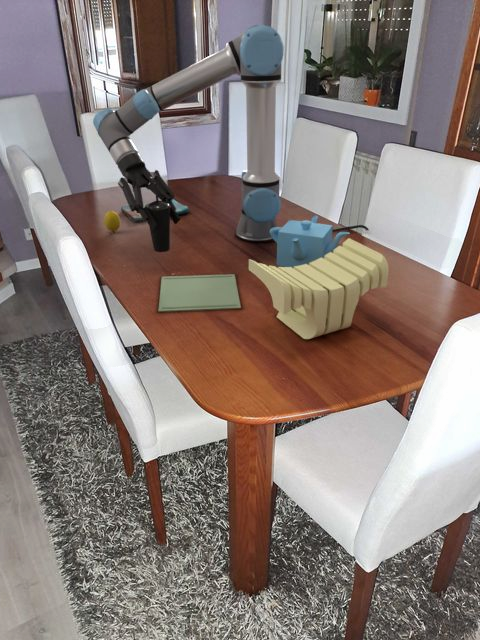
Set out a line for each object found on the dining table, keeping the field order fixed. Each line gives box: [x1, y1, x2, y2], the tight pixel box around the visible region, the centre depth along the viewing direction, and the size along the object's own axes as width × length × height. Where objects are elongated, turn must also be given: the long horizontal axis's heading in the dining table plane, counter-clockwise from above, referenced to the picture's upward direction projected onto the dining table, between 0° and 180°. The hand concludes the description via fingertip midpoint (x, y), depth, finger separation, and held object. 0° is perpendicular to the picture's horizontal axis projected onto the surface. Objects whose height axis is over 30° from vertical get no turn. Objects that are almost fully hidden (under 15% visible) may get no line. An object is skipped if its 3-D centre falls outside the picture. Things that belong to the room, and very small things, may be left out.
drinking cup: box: [145, 183, 171, 253], centre depth 156 cm, size 8×8×20 cm
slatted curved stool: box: [248, 237, 390, 340], centre depth 129 cm, size 30×16×18 cm, turn 119°
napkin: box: [157, 273, 242, 313], centre depth 149 cm, size 22×22×1 cm
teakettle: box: [270, 214, 351, 269], centre depth 161 cm, size 19×19×15 cm
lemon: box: [103, 210, 121, 233], centre depth 189 cm, size 6×6×8 cm
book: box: [120, 198, 191, 223], centre depth 210 cm, size 17×23×2 cm
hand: (166, 224), depth 155 cm, fingers closed on drinking cup, 8 cm apart
